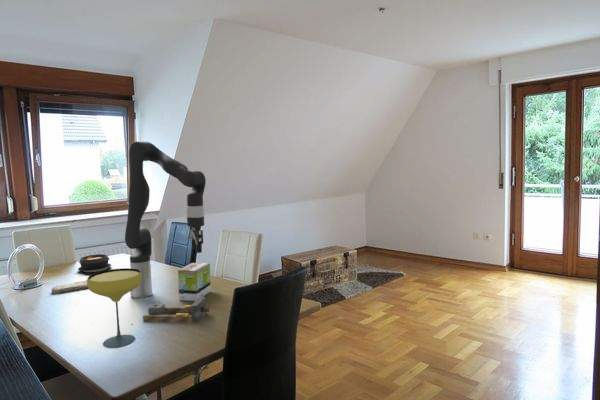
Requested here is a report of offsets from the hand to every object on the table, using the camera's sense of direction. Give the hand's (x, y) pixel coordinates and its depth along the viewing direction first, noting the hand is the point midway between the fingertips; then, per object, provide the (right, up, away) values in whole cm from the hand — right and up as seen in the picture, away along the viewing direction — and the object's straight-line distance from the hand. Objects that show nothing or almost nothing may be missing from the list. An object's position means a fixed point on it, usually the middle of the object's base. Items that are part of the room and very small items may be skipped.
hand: (196, 250), depth 192 cm
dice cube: (-13, -27, -14) cm, 33 cm away
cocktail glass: (-19, -29, -38) cm, 51 cm away
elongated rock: (-66, -24, +33) cm, 77 cm away
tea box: (-4, -24, +13) cm, 27 cm away
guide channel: (-4, -26, -15) cm, 30 cm away
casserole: (-79, -20, +68) cm, 106 cm away
